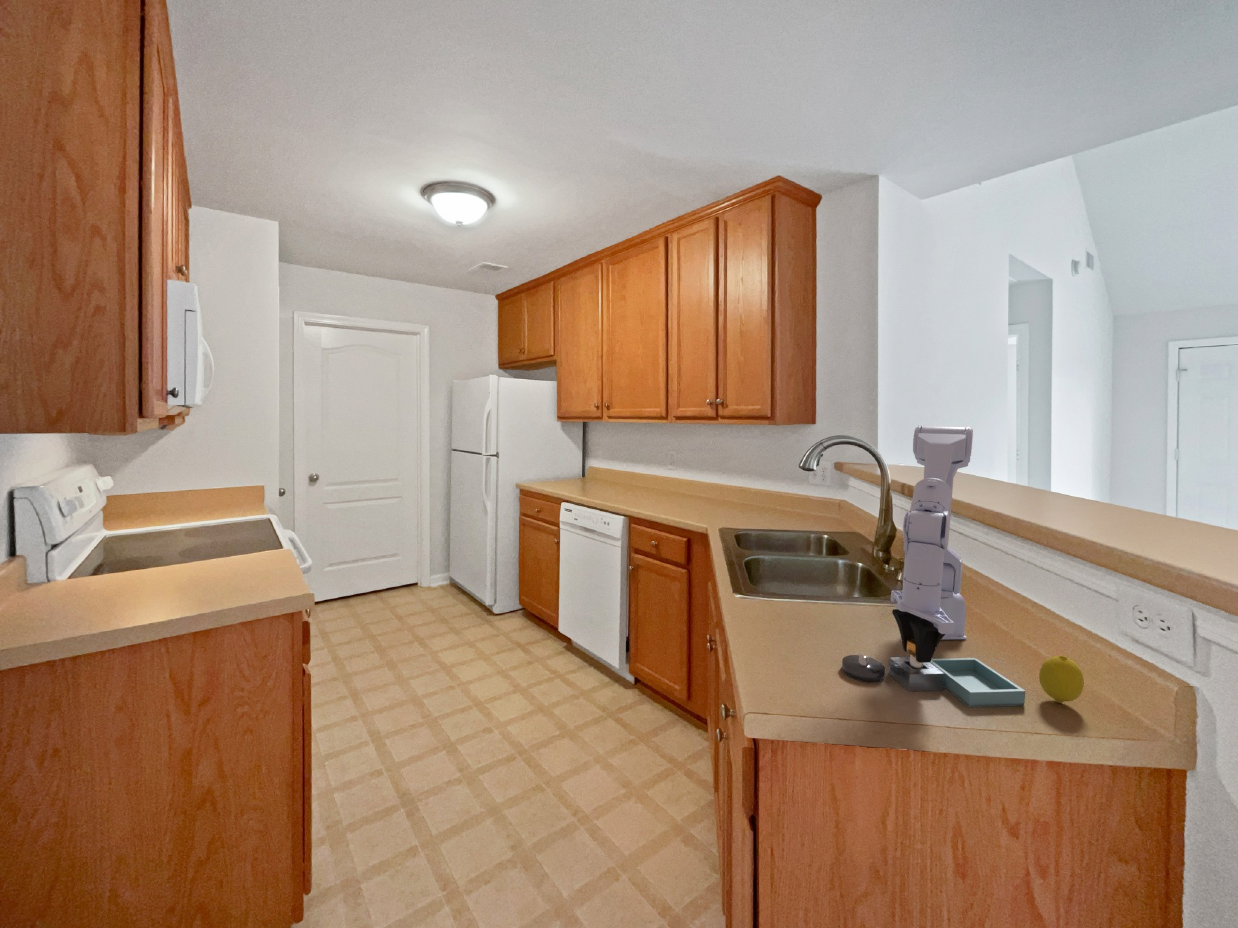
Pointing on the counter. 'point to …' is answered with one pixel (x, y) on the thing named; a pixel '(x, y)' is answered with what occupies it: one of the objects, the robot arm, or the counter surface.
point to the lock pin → (913, 655)
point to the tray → (978, 683)
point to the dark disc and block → (894, 672)
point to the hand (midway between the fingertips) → (916, 656)
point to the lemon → (1061, 679)
